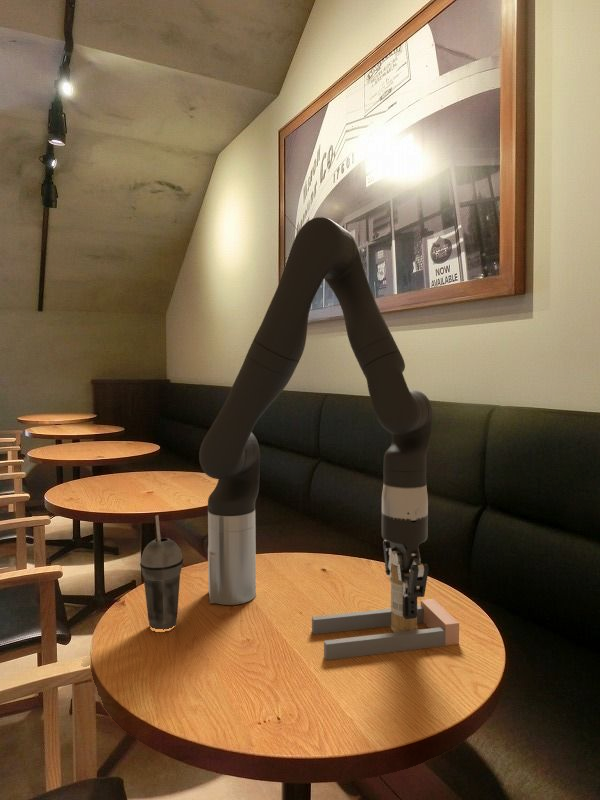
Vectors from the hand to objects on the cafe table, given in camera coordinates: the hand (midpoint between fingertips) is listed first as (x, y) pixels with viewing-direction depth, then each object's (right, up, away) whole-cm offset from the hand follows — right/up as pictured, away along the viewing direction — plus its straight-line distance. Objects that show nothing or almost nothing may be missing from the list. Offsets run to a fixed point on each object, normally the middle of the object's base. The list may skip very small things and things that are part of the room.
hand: (403, 610), depth 90 cm
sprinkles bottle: (0, -4, 0) cm, 4 cm away
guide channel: (-3, -4, 0) cm, 6 cm away
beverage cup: (-41, -5, +4) cm, 42 cm away
